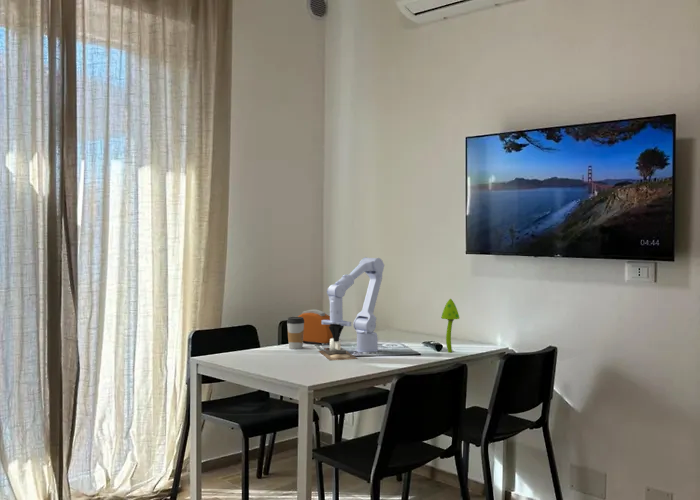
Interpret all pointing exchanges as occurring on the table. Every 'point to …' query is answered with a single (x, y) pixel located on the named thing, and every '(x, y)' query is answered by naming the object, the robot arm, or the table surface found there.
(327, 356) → the board
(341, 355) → the coaster
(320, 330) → the orange toaster
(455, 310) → the mushroom
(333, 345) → the cream tapered cylinder
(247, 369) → the table surface
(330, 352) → the socket
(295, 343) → the coffee cup
